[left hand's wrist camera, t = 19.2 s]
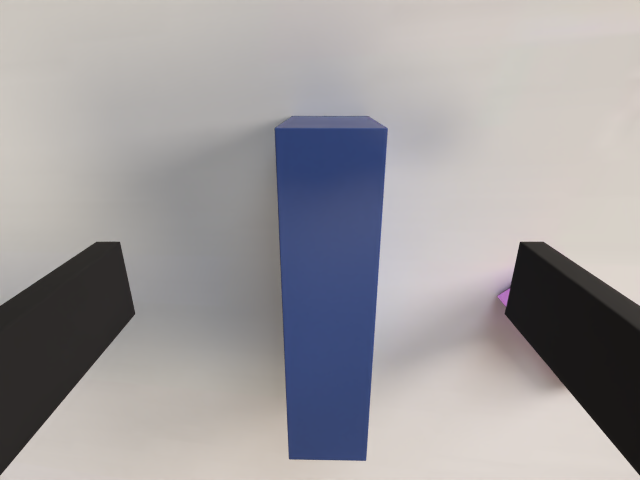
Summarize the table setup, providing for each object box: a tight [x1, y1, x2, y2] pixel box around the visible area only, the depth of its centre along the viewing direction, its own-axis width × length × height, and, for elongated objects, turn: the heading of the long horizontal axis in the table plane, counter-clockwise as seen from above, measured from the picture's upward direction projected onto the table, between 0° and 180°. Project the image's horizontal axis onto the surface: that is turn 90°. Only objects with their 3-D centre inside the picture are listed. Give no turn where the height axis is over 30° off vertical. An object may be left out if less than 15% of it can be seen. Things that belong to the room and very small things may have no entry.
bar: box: [275, 116, 388, 461], centre depth 26 cm, size 23×6×9 cm, turn 0°
